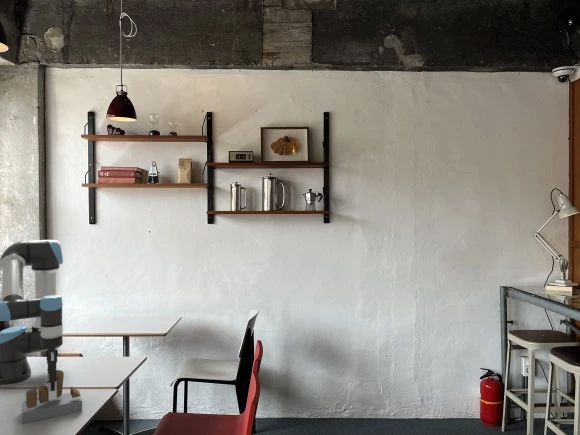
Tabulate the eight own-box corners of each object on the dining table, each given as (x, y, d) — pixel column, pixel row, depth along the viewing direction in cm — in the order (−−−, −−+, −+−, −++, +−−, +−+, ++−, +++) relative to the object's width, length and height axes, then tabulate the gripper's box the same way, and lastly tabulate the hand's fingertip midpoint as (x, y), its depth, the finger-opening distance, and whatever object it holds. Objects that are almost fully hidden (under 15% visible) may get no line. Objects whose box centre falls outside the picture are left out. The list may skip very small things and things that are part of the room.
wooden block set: (28, 416, 160) (29, 394, 156) (22, 400, 165) (23, 378, 162) (80, 399, 172) (82, 378, 169) (73, 385, 178) (75, 364, 174)
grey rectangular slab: (22, 412, 169) (22, 401, 169) (79, 400, 179) (79, 390, 179) (21, 423, 159) (21, 412, 159) (82, 410, 170) (82, 400, 170)
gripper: (39, 331, 176) (40, 387, 176) (41, 344, 158) (41, 406, 158) (60, 328, 180) (61, 383, 180) (64, 341, 162) (64, 402, 162)
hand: (52, 394), depth 169 cm, fingers closed on wooden block set, 8 cm apart
